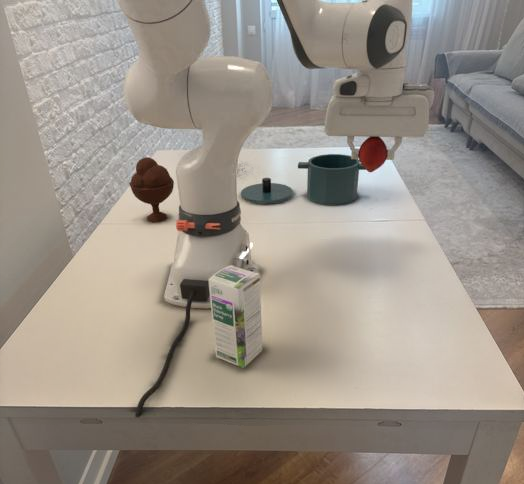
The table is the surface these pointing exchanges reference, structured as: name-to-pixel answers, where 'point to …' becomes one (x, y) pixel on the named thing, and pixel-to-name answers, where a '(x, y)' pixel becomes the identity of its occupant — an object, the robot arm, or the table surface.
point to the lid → (266, 192)
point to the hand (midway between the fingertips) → (371, 158)
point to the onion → (372, 153)
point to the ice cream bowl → (152, 186)
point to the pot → (332, 178)
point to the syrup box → (236, 314)
